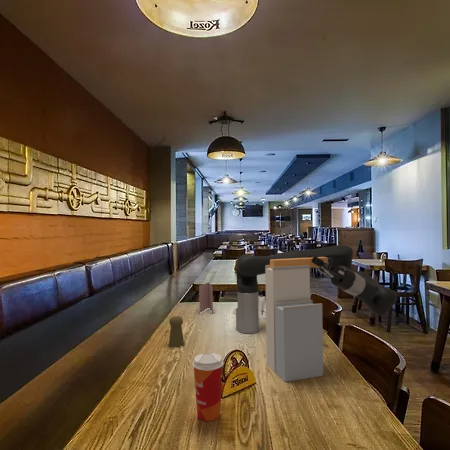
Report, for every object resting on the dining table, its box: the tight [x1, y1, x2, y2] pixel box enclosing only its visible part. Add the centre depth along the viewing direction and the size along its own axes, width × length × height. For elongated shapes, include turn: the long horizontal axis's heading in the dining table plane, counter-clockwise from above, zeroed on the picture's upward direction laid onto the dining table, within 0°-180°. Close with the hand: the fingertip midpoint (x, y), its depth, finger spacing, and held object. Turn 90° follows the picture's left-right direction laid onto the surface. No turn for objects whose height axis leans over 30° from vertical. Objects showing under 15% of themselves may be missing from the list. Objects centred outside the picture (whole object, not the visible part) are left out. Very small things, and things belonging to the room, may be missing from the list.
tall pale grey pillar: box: [264, 265, 311, 373], centre depth 111 cm, size 13×6×33 cm, turn 107°
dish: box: [232, 295, 266, 321], centre depth 176 cm, size 25×25×11 cm
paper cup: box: [192, 352, 224, 422], centre depth 83 cm, size 8×8×14 cm
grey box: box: [275, 299, 324, 383], centre depth 104 cm, size 13×6×22 cm, turn 107°
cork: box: [168, 315, 185, 348], centre depth 131 cm, size 6×6×11 cm
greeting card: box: [198, 282, 214, 314], centre depth 179 cm, size 11×7×15 cm, turn 157°
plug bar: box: [270, 257, 329, 269], centre depth 112 cm, size 20×3×3 cm, turn 107°
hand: (310, 258), depth 113 cm, fingers open, 3 cm apart
